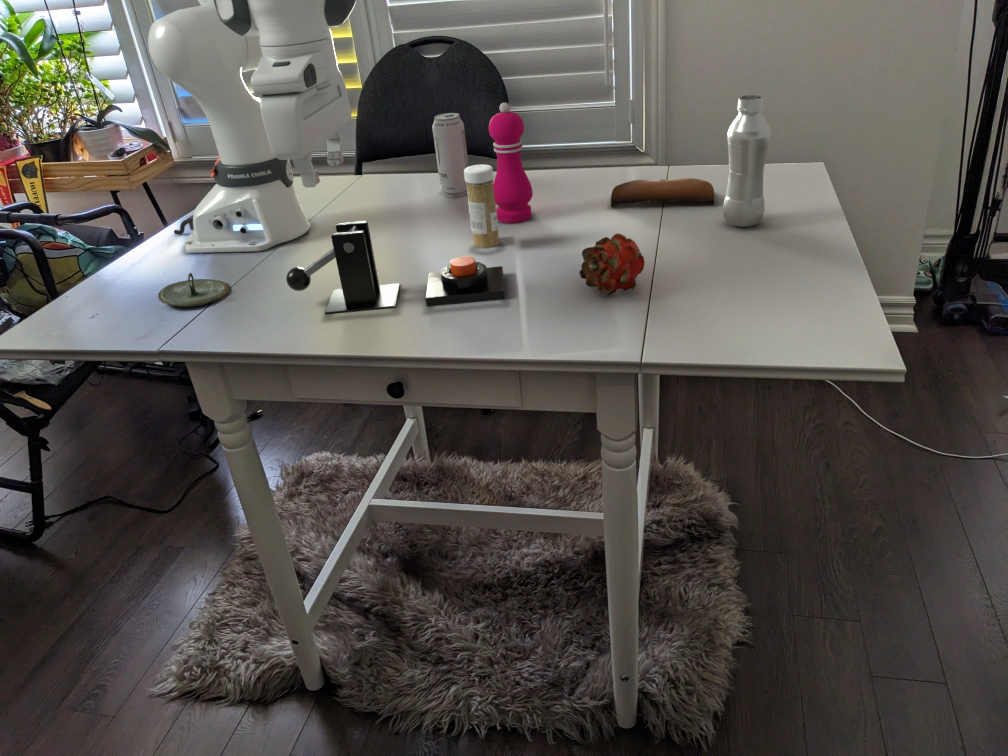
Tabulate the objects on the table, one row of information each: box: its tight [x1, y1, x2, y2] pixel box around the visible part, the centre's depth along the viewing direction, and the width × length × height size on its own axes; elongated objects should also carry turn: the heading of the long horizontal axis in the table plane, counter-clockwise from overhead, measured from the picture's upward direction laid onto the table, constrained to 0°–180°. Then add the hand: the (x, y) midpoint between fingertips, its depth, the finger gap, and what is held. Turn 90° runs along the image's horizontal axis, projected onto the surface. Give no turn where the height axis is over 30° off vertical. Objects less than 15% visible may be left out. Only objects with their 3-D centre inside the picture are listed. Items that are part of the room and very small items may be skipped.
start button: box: [449, 255, 476, 276], centre depth 114 cm, size 4×4×2 cm
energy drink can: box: [431, 112, 470, 198], centre depth 156 cm, size 6×6×15 cm
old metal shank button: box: [157, 272, 231, 307], centre depth 123 cm, size 11×10×5 cm
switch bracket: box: [324, 220, 401, 315], centre depth 114 cm, size 10×8×12 cm
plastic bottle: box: [722, 94, 772, 228], centre depth 126 cm, size 6×7×20 cm
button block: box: [424, 261, 505, 308], centre depth 116 cm, size 11×9×4 cm
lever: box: [285, 226, 366, 292], centre depth 113 cm, size 13×3×3 cm, turn 91°
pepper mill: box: [488, 102, 534, 224], centre depth 139 cm, size 7×7×20 cm
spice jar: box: [464, 163, 500, 249], centre depth 129 cm, size 5×5×13 cm
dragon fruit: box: [578, 233, 645, 296], centre depth 112 cm, size 8×8×12 cm
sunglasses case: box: [610, 177, 715, 207], centre depth 143 cm, size 18×7×7 cm, turn 79°
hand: (324, 175), depth 107 cm, fingers open, 8 cm apart
